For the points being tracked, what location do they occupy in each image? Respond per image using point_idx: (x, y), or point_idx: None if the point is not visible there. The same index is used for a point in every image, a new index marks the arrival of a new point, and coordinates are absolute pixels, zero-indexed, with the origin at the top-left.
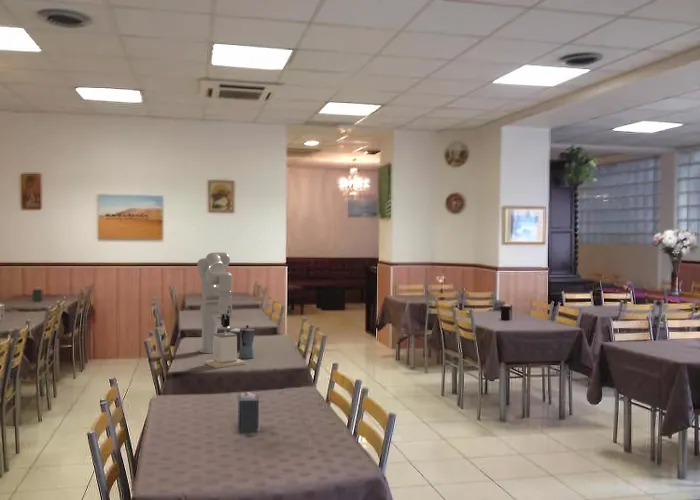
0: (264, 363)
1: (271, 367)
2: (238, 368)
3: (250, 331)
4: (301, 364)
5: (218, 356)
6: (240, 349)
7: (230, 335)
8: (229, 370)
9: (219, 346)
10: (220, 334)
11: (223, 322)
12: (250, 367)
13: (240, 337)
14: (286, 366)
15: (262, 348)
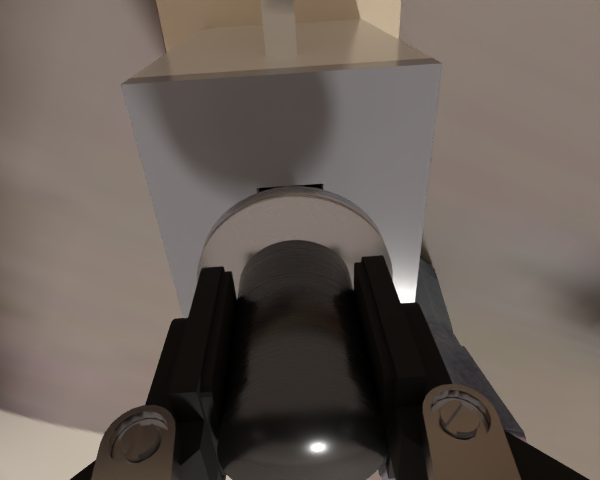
0: (178, 312)
1: (48, 305)
2: (74, 122)
3: (379, 468)
4: (84, 427)
5: (256, 31)
6: (421, 295)
7: (164, 240)
8: (12, 25)
9: (218, 49)
10: (294, 137)
11: (266, 313)
12: (85, 207)
13: (466, 369)
14: (55, 368)
15: (556, 422)
